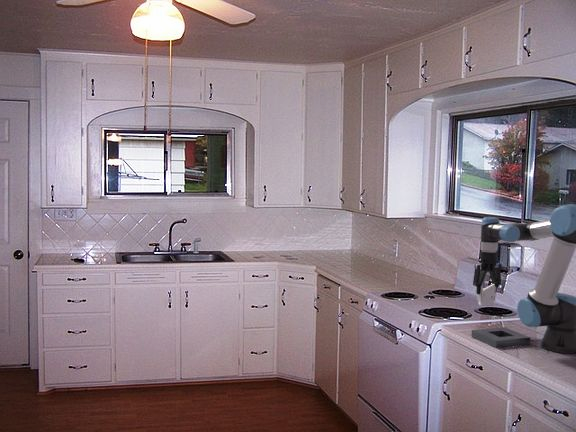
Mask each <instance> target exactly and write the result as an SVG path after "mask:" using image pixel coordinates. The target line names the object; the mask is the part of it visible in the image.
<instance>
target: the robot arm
mask: <svg viewBox="0 0 576 432" xmlns="http://www.w3.org/2000/svg"><path fill="white" fill-rule="evenodd" d="M549 218H550V219H545V220H540V221H534V222H529V223H501V222H500V218H498V217H494V216H490V217H489V216H485V217H483V218H482V220H481V226H480V227H481V230H480V252H479V259H480V262H479V263H477V264H476V263H475V264H474V272H473V273H474V274H473V280H472V285H473V286H474V287H476V292H475V293H476V301H480V302H482V296H483V289H484V287H482V286H483V284H484V281H485V278H486V275H487V274H489V277H490V282H491V285H492V284H495V287H494V301H495V302H496V294H497V291H498V288H499V286H500V285H502V275H501V274H502V273H501V269H502V264H501V263H498V262H497V260H498V252H497V251H498V250H499V241H500V242H501V241H502V242H506V243H515V242H520V241H521V242H522V241H525V242H526V241H529V242H530V241H531V242H533V241H534V242H535V241H539V240H540V239H546V238H547V239H548V238H553V240H552V243H551V245H550V248H549V250H548V252H547V256H546V258H545V260H544V263H543V266H542V268H541V271H540V274H539V275H538V279H537V281H536V284H535V287H534V288H531V289H530V290H529V291H528V294H527V295H526V298H522V299H520V300H519V301H518V302H517V304H516V305H517V306H516V309H517V310H516V312H517V315H518V319H519V320H520V321H521V323H522V324H523V325H525V326H526V327H529V328H538V327H546V330H545V332H544V334H543V337H542V338H541V341H540V342H541V344H540V346H541V347H542V348H543V349H546V350H548V351H551V352H554V351H555V353H559V352H560V354H567V353H573V354H576V353H575V352H576V296H575V295H570V294H569V293H568V294H566V293H561V292H559V291H560V288H561V286H562V283H563V281H564V278H565V276H566V274H567V270H568V268H569V266H570V263H571V261H572V259H573V256H574V254H575V251H576V204H574V203H573V204H572V203H569V204H563V205H560V206H558V207H556V208H554V210H553V211H552V213H551V215H550V217H549Z"/></svg>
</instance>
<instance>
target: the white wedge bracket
mask: <svg viewBox="0 0 576 432" xmlns="http://www.w3.org/2000/svg"><path fill="white" fill-rule="evenodd" d="M494 287H495V284H492V283H491V284H490V285H488V286H486V287H483V296H482V302H480V301H478V303H477V304H478V305H479V306H481V307H494V304H495V303H494Z"/></svg>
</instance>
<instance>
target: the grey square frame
mask: <svg viewBox="0 0 576 432" xmlns="http://www.w3.org/2000/svg"><path fill="white" fill-rule="evenodd" d="M471 338H472V339H475V340H477V341H480V342H482V343H484V344H486V345H489V346H491V347H493V348H495V349H497V348H498V349H499V347H500V348H508V347H507V346H509V347H516V345H519V346H525V345H526V346H527V344H528V345H531V337H530V336H527V335H525V334H523V333H520V332H517V331H515V330H513V329H510V328H507V327H505V326H503V327H492V328H481V329H472V330H471Z"/></svg>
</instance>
